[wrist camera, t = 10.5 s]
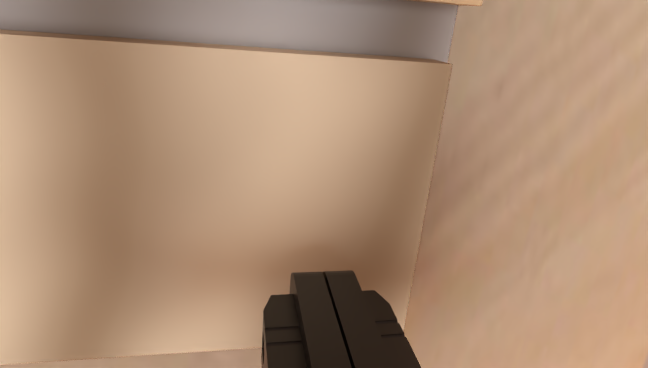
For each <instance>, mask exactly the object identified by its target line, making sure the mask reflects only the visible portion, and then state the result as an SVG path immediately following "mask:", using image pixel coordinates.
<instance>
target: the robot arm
mask: <svg viewBox="0 0 648 368" xmlns="http://www.w3.org/2000/svg"><path fill="white" fill-rule="evenodd" d="M261 361H262V368H421V366H420V364H419V362H418V360H417V358H416V356H415V354H414V352H413V350H412V348H411V346H410V344H409V342H408V340H407V338H406V337H404V332H403V330H402V328H401V326H400V324H399V323H398V321H397V318H396V316H395V314H394V311H393V309H392V307H391V305H390V303H388V302H387V301H386V300H385V299H384V298H383V297H382V296H381V295H380V294H378V293H377V292H376V291H375V290H366V291H362V289H361V287H360V285H359V282H358V280H357V278H356V275H355V273H354V271H352V270H346V271H323V272H293V273H291V279H290V293H289V294H281V295H271V296H270V298H269V300H268V302H267V304H266V306H265V308H264V310H263V332H262V358H261Z"/></svg>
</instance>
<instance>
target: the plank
mask: <svg viewBox="0 0 648 368" xmlns="http://www.w3.org/2000/svg"><path fill="white" fill-rule="evenodd" d="M452 65H453V64H449V63H445V62H442V61H438V60H434V59H423V58H408V57H394V56H379V55H365V54H350V53H336V52H321V51H307V50H292V49H278V48H263V47H249V46H234V45H220V44H205V43H191V42H176V41H162V40H147V39H133V38H118V37H104V36H89V35H75V34H60V33H46V32H31V31H17V30H2V29H0V365H7V364H22V363H37V362H52V361H67V360H83V359H98V358H113V357H128V356H144V355H159V354H174V353H189V352H205V351H220V350H235V349H250V348H262V332H263V310H264V308H265V306H266V304H267V302H268V300H269V298H270V296H271V295H281V294H289V293H290V279H291V273H293V272H323V271H346V270H352V271H354V273H355V275H356V278H357V280H358V282H359V285H360V287H361V289H362V291H366V290H375V291H376V292H377V293H378V294H380V295H381V296H382V297H383V298H384V299H385V300H386V301H387V302H388V303H390V305H391V307H392V309H393V311H394V314H395V316H396V318H397V321H398V323H399V324H400V326H401V328H402V330H403V331H404V326H405V320H406V315H407V309H408V304H409V298H410V293H411V288H412V282H413V277H414V271H415V266H416V260H417V255H418V249H419V244H420V239H421V233H422V228H423V222H424V217H425V211H426V206H427V201H428V195H429V190H430V184H431V179H432V173H433V168H434V162H435V157H436V152H437V146H438V141H439V135H440V130H441V124H442V119H443V113H444V108H445V103H446V97H447V92H448V86H449V81H450V75H451V70H452Z"/></svg>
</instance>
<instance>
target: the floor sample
mask: <svg viewBox="0 0 648 368" xmlns="http://www.w3.org/2000/svg"><path fill="white" fill-rule="evenodd" d="M458 5H468V6H481V5H482V0H0V29H2V30H17V31H31V32H46V33H60V34H75V35H89V36H104V37H118V38H133V39H147V40H162V41H176V42H191V43H205V44H220V45H234V46H249V47H263V48H278V49H292V50H307V51H321V52H336V53H350V54H365V55H379V56H394V57H408V58H423V59H434V60H438V61H442V62H445V63H447V62H448V57H449V52H450V46H451V41H452V36H453V30H454V25H455V20H456V15H457V9H458Z"/></svg>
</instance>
